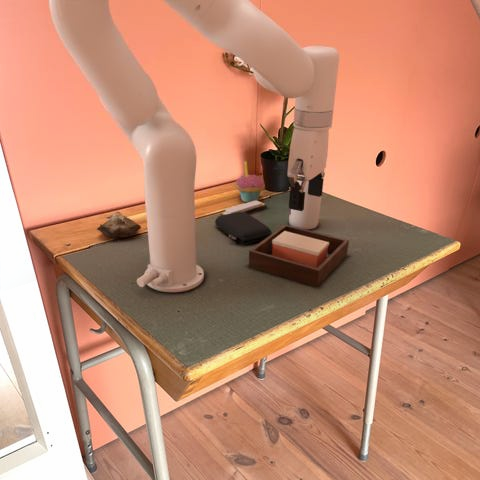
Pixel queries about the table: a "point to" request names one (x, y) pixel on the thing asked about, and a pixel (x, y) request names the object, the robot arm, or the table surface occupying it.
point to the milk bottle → (306, 211)
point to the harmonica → (246, 208)
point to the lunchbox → (300, 249)
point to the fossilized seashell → (119, 226)
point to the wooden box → (293, 269)
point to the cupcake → (249, 186)
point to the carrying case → (243, 227)
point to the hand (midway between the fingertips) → (305, 202)
